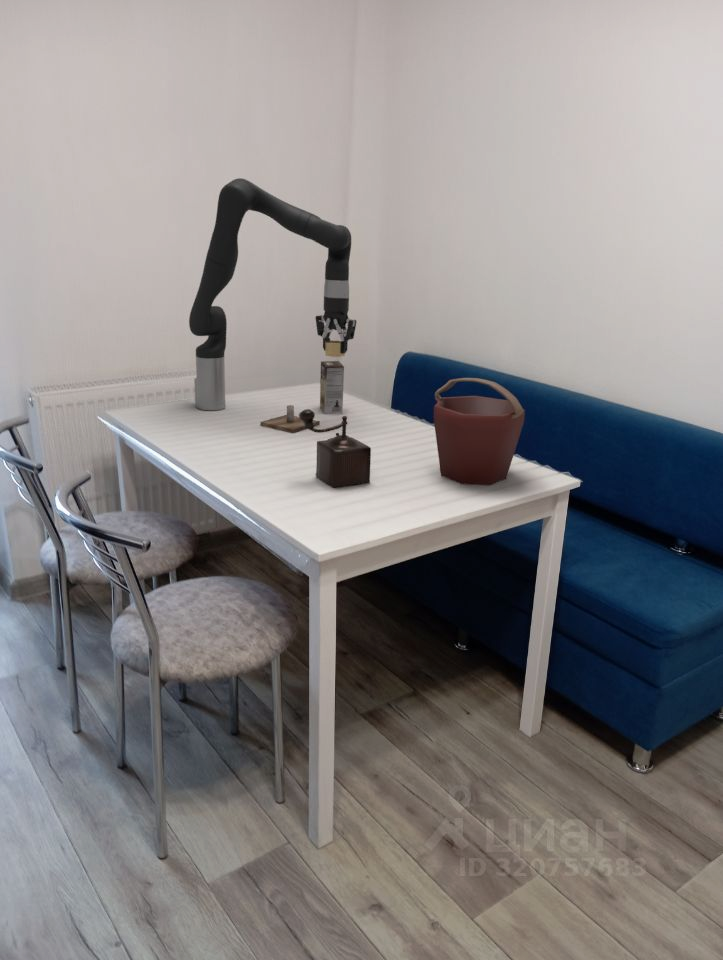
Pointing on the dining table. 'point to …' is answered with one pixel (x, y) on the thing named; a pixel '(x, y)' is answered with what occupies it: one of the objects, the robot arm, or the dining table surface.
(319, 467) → the manual coffee grinder
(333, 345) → the gold octagonal ring
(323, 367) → the coffee box
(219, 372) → the robot arm
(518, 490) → the dining table surface
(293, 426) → the post stand
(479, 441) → the bucket
